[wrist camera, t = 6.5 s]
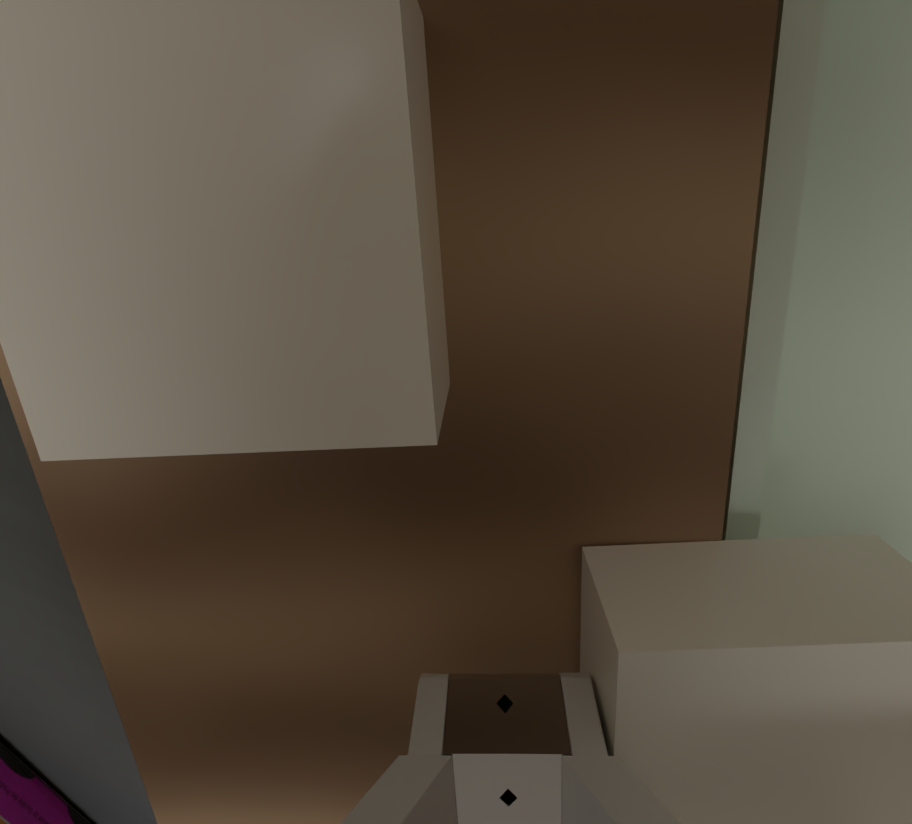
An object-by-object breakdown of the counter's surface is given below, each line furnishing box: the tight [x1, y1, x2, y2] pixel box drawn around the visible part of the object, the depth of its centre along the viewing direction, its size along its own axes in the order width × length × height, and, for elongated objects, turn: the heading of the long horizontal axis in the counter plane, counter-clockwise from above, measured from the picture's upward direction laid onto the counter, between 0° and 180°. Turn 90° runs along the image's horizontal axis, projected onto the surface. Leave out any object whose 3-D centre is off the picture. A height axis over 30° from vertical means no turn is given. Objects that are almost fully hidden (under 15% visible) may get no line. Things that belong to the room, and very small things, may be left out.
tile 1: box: [580, 534, 912, 824], centre depth 10 cm, size 5×5×2 cm
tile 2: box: [0, 0, 450, 461], centre depth 7 cm, size 5×5×2 cm
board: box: [0, 0, 779, 824], centre depth 12 cm, size 18×12×4 cm, turn 4°
